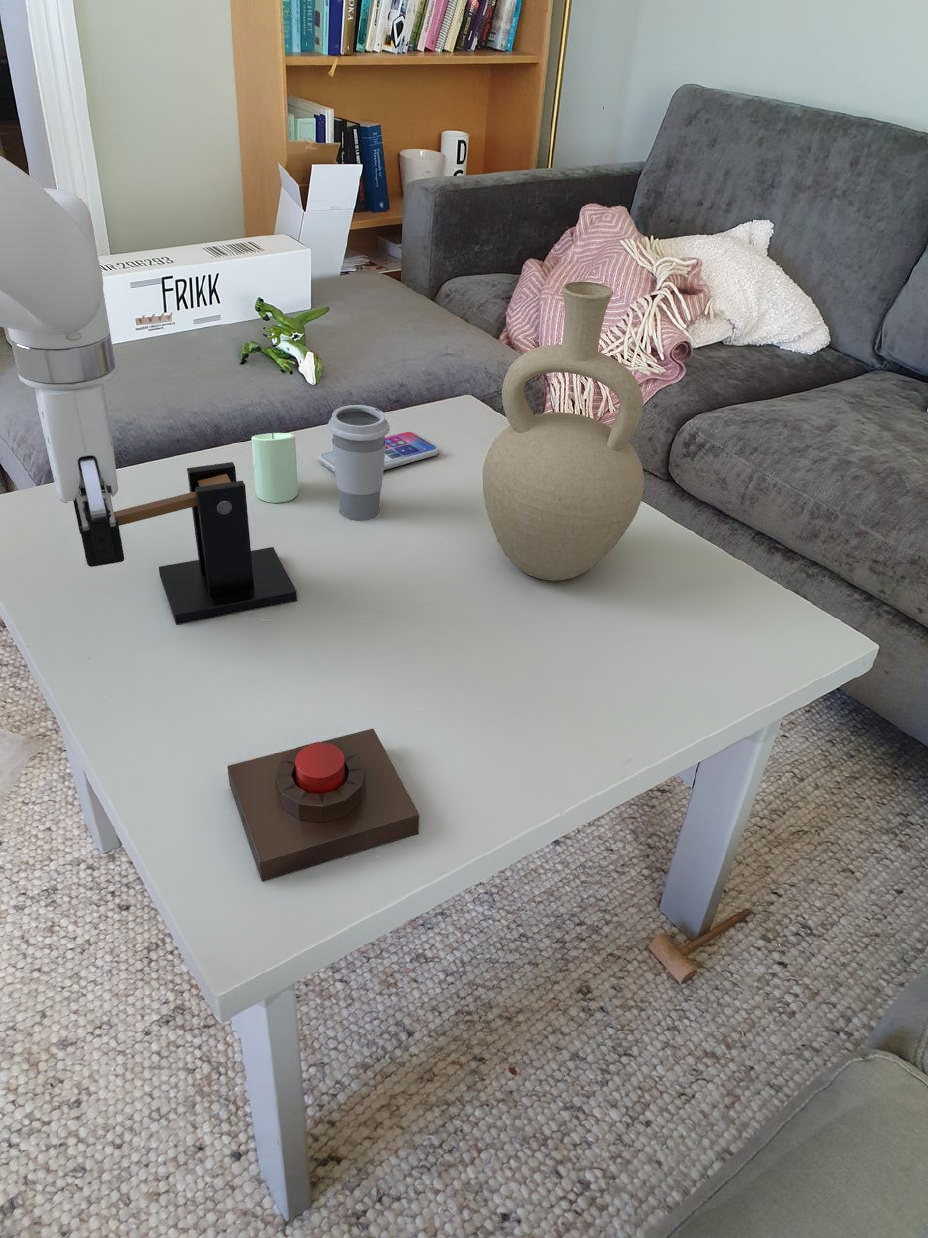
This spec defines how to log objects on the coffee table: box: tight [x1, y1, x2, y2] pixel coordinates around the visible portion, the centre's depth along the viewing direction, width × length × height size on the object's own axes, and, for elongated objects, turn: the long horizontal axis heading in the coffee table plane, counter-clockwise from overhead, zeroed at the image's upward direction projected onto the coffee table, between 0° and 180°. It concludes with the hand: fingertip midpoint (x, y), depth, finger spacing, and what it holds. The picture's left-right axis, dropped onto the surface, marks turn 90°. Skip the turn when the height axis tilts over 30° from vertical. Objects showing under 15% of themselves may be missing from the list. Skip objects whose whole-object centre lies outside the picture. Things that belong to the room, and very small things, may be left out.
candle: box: [251, 432, 299, 504], centre depth 108 cm, size 5×5×8 cm
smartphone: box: [318, 431, 440, 474], centre depth 119 cm, size 7×1×15 cm
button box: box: [226, 728, 420, 882], centre depth 69 cm, size 12×10×4 cm
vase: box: [482, 280, 645, 582], centre depth 92 cm, size 17×17×30 cm
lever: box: [114, 474, 231, 527], centre depth 86 cm, size 13×5×2 cm, turn 114°
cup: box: [327, 404, 390, 521], centre depth 105 cm, size 7×7×12 cm
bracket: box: [158, 461, 298, 625], centre depth 90 cm, size 12×9×13 cm
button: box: [295, 742, 345, 794], centre depth 68 cm, size 4×4×2 cm
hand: (101, 545), depth 85 cm, fingers closed on lever, 5 cm apart
